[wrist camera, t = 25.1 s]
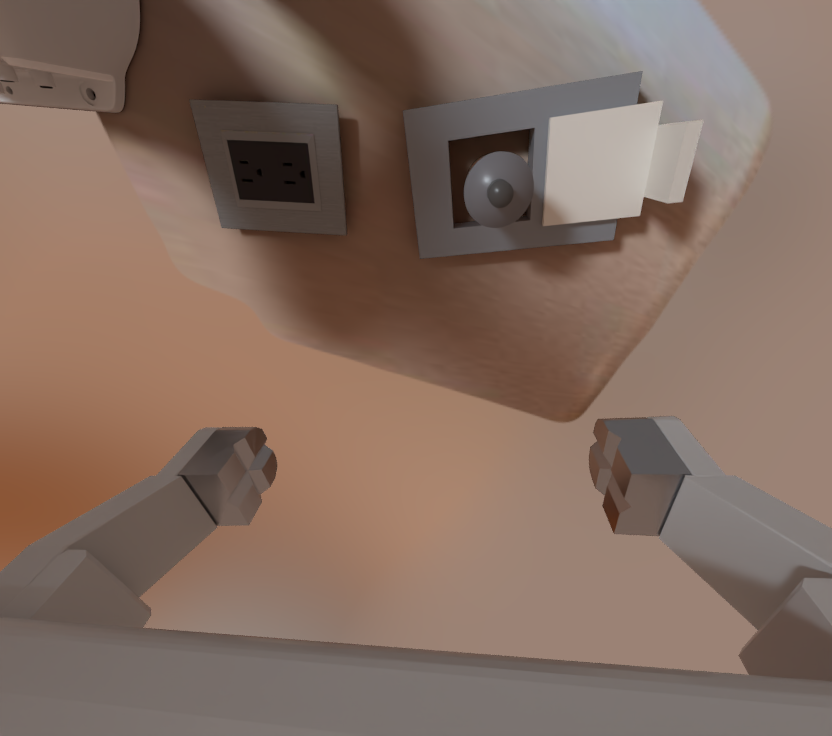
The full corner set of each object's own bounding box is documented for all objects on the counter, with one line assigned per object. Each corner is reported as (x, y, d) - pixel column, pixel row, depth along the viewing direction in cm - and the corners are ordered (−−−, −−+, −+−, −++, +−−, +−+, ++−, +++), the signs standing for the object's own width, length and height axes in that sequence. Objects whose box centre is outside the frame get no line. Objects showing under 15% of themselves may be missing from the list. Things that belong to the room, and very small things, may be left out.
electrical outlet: (343, 107, 31) (335, 104, 29) (351, 231, 37) (345, 236, 35) (204, 102, 32) (186, 99, 30) (232, 224, 38) (220, 228, 36)
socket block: (422, 252, 37) (419, 258, 35) (406, 112, 30) (402, 110, 28) (604, 234, 34) (613, 239, 32) (628, 76, 28) (642, 71, 26)
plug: (463, 210, 34) (466, 236, 24) (461, 154, 32) (462, 157, 22) (514, 205, 33) (536, 229, 24) (515, 146, 31) (541, 146, 21)
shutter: (542, 224, 32) (553, 235, 28) (549, 118, 27) (563, 113, 24) (649, 213, 30) (677, 223, 26) (674, 99, 26) (711, 91, 22)
